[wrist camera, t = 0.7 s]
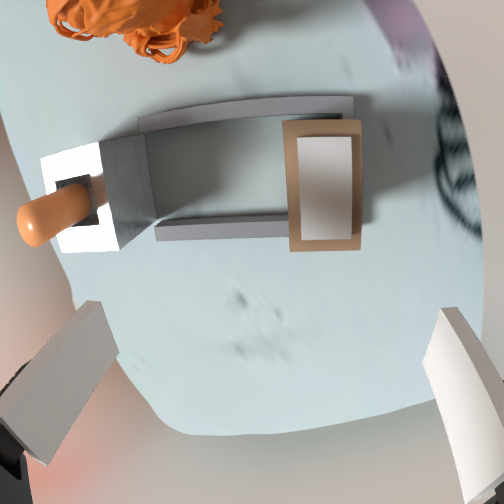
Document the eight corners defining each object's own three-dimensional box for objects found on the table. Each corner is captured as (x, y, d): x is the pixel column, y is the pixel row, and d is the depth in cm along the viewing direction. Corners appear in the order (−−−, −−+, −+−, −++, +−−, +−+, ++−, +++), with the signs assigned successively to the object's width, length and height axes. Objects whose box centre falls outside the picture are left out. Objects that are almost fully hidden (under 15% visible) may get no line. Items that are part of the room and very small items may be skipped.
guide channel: (146, 117, 26) (137, 117, 24) (348, 98, 23) (352, 96, 21) (164, 234, 31) (156, 241, 29) (351, 227, 28) (355, 235, 26)
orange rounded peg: (61, 186, 22) (12, 207, 16) (87, 180, 21) (37, 201, 16) (69, 220, 23) (23, 247, 18) (95, 218, 23) (49, 246, 17)
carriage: (286, 122, 25) (281, 120, 15) (336, 121, 24) (363, 119, 15) (291, 208, 28) (289, 255, 18) (339, 207, 27) (362, 254, 18)
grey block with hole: (90, 146, 28) (40, 158, 21) (144, 134, 27) (98, 141, 20) (104, 223, 32) (62, 252, 24) (157, 219, 31) (119, 250, 23)
